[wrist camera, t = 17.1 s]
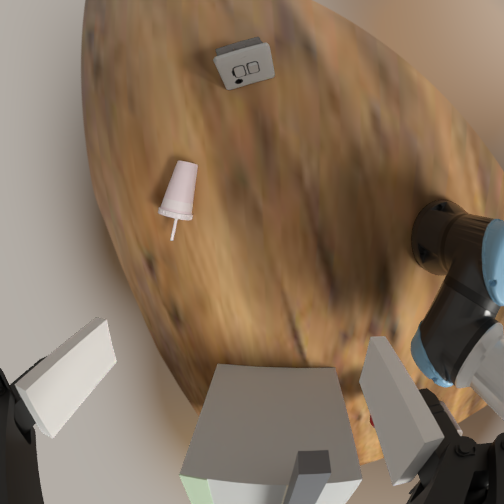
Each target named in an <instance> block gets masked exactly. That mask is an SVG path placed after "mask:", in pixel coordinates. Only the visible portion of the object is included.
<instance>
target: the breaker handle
mask: <svg viewBox="0 0 504 504" xmlns="http://www.w3.org/2000/svg"><path fill="white" fill-rule="evenodd" d="M330 475H331V466H330V458H329V451H328V450H317V451H298V453H297V456H296V460H295V464H294V468H293V472H292V475H291V479H290V482H289V486H288V489H287V493H286V496H285V499H284V502H283V504H315V503H316V502H317V500H318V498H319V496H320V494H321V492H322V490H323V489H324V487H325V485H326V483H327V481H328V479H329V477H330Z"/></svg>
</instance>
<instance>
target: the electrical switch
mask: <svg viewBox="0 0 504 504" xmlns="http://www.w3.org/2000/svg"><path fill="white" fill-rule="evenodd" d="M244 46H245V47H244ZM233 49H235V50H233ZM216 53H217V57H215V58H214V59H213V61H214V63H215V65H216V67H217V70H218V72H219V74H220V76H221V78H222V80H223V83H224V85H225V87H226V89H227V90H232V89H235V88H238V87H242V86H245V85H248V84H252V83H255V82H259V81H262V80H266V79H270V78H273V77H274V76H275V73H274V67H273V61H272V56H271V51H270V47H269V44H268V43H263V42H262V41H261V40H260V38H259V37H255V38H251V39H248V40H244V41H240V42H237V43H234V44H230V45H227V46H224V47H221V48H218V49H216Z"/></svg>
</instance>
